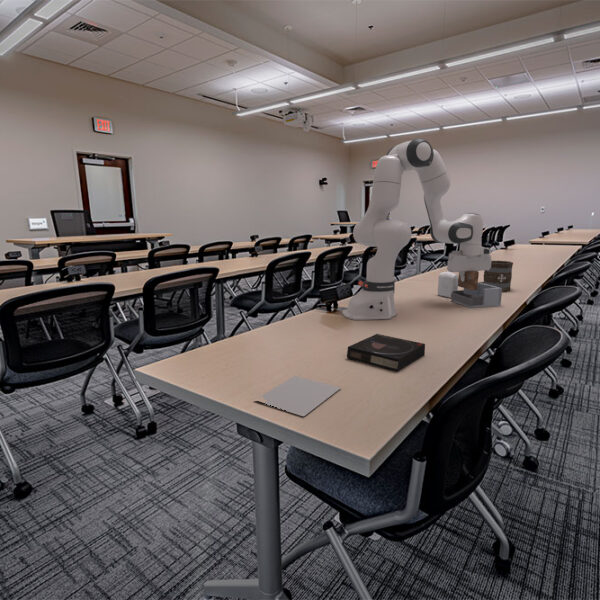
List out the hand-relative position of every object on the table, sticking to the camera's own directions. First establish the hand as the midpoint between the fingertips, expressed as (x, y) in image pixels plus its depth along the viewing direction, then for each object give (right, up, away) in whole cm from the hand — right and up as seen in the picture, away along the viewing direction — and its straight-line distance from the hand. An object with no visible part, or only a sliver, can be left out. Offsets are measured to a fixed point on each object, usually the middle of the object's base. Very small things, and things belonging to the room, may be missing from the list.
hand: (467, 281), depth 182 cm
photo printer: (-3, -7, +19) cm, 20 cm away
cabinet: (+5, -10, +3) cm, 12 cm away
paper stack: (-78, -31, -80) cm, 116 cm away
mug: (+26, -3, +34) cm, 43 cm away
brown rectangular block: (0, -3, +1) cm, 3 cm away
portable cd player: (-50, -26, -62) cm, 84 cm away
